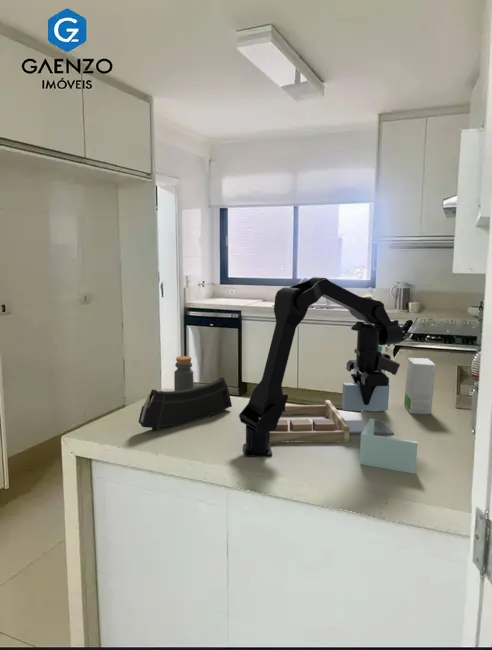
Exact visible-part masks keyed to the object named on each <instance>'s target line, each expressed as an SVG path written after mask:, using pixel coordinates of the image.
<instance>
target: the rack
mask: <svg viewBox="0 0 492 650" xmlns="http://www.w3.org/2000/svg"><path fill="white" fill-rule="evenodd" d="M282 414H306V415H327V416H326V417H327V419H328V418H329V419H332V421H333V422H334V423H335V430H334V431H289V430H288V431H270V443H287V442H286V441H289V442H288V443H295V442H294V441H343V442H344V441H345V442H346V441H348V442H350V435H349V429H350V426H349V425H348V424H347V422H346V421H345V418H344V417H343V416H342V415H341V413H340V412H339V411H338V409H337V408H336V407H335V405H334V404H333V403H332V402H331V400H329V399H325V401H324V404H297V405H296V404H289V405H288V404H287V405H285V412H283V413H282ZM283 441H284V442H283ZM291 441H293V442H291Z"/></svg>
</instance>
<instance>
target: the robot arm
mask: <svg viewBox="0 0 492 650" xmlns="http://www.w3.org/2000/svg"><path fill="white" fill-rule="evenodd" d="M322 297H323V298H324V299H325V300H329V301H330V302H333V303H335V304H337V305H339V306H341V307H343V308H344V309H347V310H348V312H349V313H350V315H351V316H353V317H355V318H356V320H359V321H356V323H355V324H354V325H353V326H351V327H350V328H351V331H356V332H357V338H356V348H354V351H353V352H354V353H355V354H356V355H355V357H356V358H355V359H349V360H347V362H346V367H345V368H346V369H345V370H346V371H348V372H352V370H353V373H351V374H350V377H351V378H352V379H351V380H352V381H353V383H358V385H359V388H360V392H361V395H362V399H363V402H364V405H369V402H370V400H371V397H372V394H373V392H374V389H375V388H376V387H377V386H389V387H390V377H388V375H385V374H384V373H382V370H385V371H386V372H388V373H391V374H392V375H394V376H397V373H398V370H399V368H400V366H401V364H400V363H399V362H397V361H394V360H393V359H391V355H390V354H387V353H385V352H383V353H381V352H380V351H379V345H382V346H387V345H388V346H389V345H396V344H400V343H401V342H402V341H403V339H404V335H405V334H404V331H403V328H402V327H401V325H399V320H397V319H394V318H393V319H392V318H391V319H390V317H389V315H388V313H387V311H386V309H385V304H384V302H382V301H381V300H376V299H372V298H368V297H363V296H359V294H355V293H353V292H352V291H349V289H348V290H347V289H346V288H344V287H341V286H340V285H338V284H336V283H334V282H332V281H330V280H329V279H328V278H326V277H322V276H319V277H318V276H315V277H312V278H309V279H307V280H306V281H303V282H300V283H297V284H294V285H291V286H290V287H286V286H285V287H282V288H280V289H278V290H277V292H276V294H275V296H274V303H273V313H274V317H275V326H274V329H273V334H272V337H271V338H272V339H271V342H270V345H269V350H268V355H267V359H266V362H265V366H264V370H263V374H262V378H261V380H260V382H259V383H257V385H256V386H255V388H253V390H252V393H251V395H250V398H249V400H248V403H247V404H246V406H245V407H244V408H243V409H242V411H241V412H240V413H239V414H238V418H239V420H240V423H242V424H244V425H245V443H243V445H242V446H243V447H242V448H243V452H244V456H245V457H272V456H273V450H272V447H271V444H270V443H271V442H270V431H274V430H276V427H277V424H278V421H279V419H281V417H282V416H283V415H282V413H283V412H285V405H286V403H287V401H288V399H289V398H288V397H289V395H288V394H287V393H285V392H284V391H283V382H284V376H285V374H286V369H287V366H288V361H289V357H290V354H291V349H292V345H293V342H294V337H295V334H296V333H295V332H296V329H297V327H298V326H299V324H300V323H301V322H302V321H303V320H304V319H305V317H306V315H307V313H308V310H309V308H310V306H312V305H314V304H315V303H317V302H319V300H320V299H321V298H322ZM375 371H377V372H375Z"/></svg>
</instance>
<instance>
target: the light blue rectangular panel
mask: <svg viewBox="0 0 492 650" xmlns="http://www.w3.org/2000/svg"><path fill="white" fill-rule="evenodd" d="M341 396H342V397H341V409H342V410H343V411H365V410H382V411H389V401H390V400H389V399H390V398H389V396H390V385H389V386H377V387H376V388H375V389H374V392H373V394H372V397H371V400H370V402H369V405H364V402H363V399H362V395H361V392H360V388H359V385H358V383H354V382H342V394H341Z"/></svg>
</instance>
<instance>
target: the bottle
mask: <svg viewBox="0 0 492 650" xmlns="http://www.w3.org/2000/svg"><path fill="white" fill-rule="evenodd" d="M175 360H176V363H175V365H174V367H176V368H177V369H176V370H174V372H173V373H174V375H173V377H174V378H173V382H174V384H173V385H174V391H180V390H187V389H192V388H194V371H193V370H192V369H191V367H193V363H192V362H191V361H192V357H191V356H187V355H183V356H181V355H180V356H176V357H175Z"/></svg>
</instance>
